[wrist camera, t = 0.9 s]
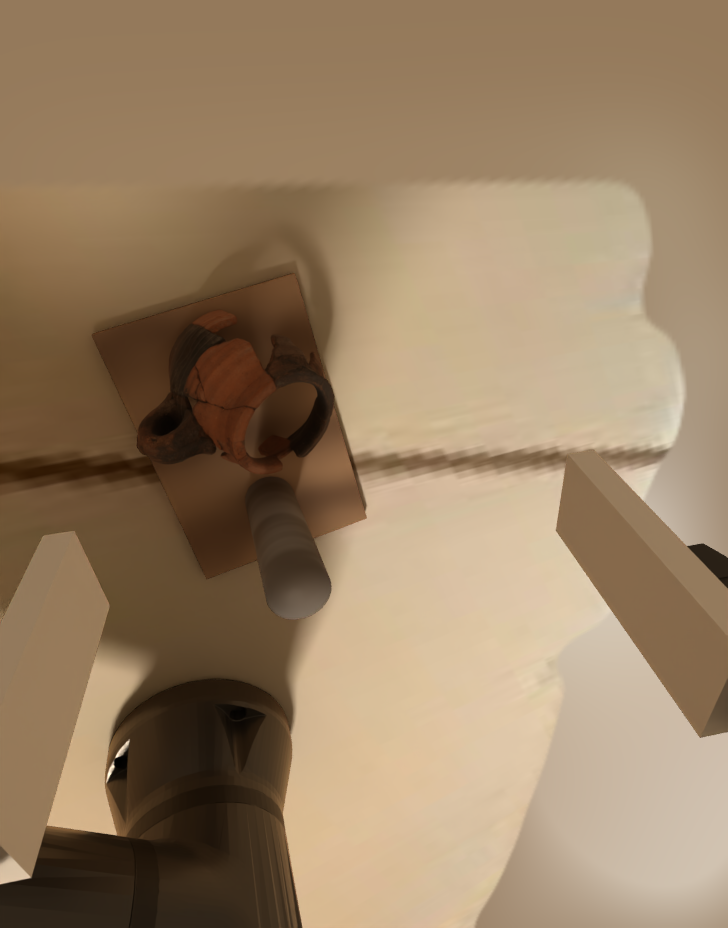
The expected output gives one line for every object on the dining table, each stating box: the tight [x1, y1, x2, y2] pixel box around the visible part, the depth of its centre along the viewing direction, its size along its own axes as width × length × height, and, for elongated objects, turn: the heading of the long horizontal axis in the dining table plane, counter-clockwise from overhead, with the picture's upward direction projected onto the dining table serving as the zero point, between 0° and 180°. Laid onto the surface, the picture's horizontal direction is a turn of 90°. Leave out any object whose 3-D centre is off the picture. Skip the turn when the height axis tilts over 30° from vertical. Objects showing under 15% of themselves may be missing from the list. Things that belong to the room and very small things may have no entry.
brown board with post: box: [92, 273, 367, 619], centre depth 34 cm, size 19×13×13 cm
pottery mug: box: [137, 310, 334, 474], centre depth 35 cm, size 12×10×8 cm
